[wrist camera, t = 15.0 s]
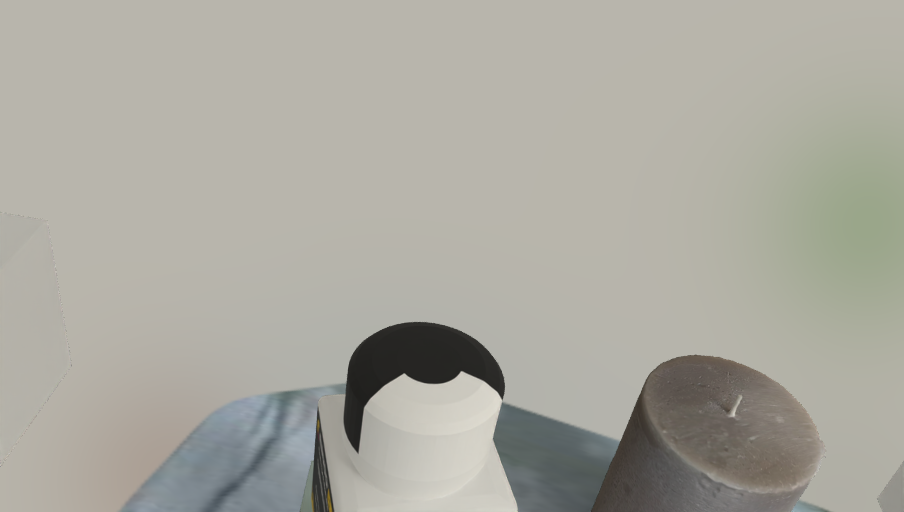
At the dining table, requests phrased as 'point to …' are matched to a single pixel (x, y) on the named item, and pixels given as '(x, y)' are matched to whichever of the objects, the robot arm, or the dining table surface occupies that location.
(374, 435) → the medicine bottle
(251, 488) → the dining table surface
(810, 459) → the pillar candle
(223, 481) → the dining table surface
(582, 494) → the dining table surface
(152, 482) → the dining table surface
